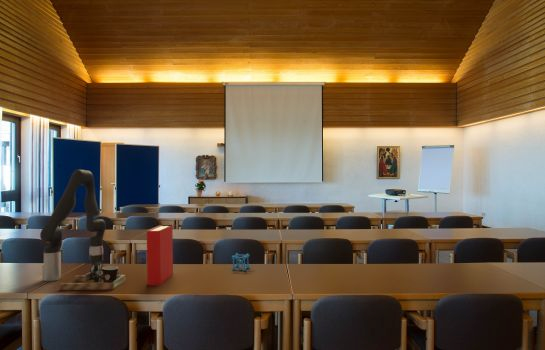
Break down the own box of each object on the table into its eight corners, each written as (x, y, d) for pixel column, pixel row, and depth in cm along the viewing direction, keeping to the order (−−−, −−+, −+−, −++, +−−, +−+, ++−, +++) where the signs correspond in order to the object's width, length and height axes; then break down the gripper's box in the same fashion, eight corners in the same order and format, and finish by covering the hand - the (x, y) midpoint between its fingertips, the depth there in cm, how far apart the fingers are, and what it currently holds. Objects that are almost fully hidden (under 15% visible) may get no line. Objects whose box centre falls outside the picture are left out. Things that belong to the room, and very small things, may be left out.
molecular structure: (231, 270, 274) (231, 255, 274) (236, 267, 284) (236, 253, 284) (245, 271, 272) (245, 256, 272) (250, 268, 282) (249, 253, 282)
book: (160, 273, 268) (160, 224, 268) (172, 273, 268) (172, 224, 267) (146, 285, 241) (145, 230, 240) (159, 285, 240) (159, 230, 240)
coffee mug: (120, 284, 243) (121, 267, 243) (108, 287, 236) (109, 270, 235) (107, 281, 249) (107, 264, 249) (94, 284, 241) (95, 267, 241)
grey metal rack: (60, 289, 233) (60, 283, 233) (82, 277, 260) (82, 272, 260) (113, 289, 233) (113, 283, 233) (129, 277, 260) (129, 271, 260)
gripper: (94, 251, 249) (95, 279, 249) (84, 255, 235) (85, 285, 236) (107, 251, 249) (107, 279, 249) (97, 255, 235) (98, 285, 236)
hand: (96, 282), depth 242 cm, fingers closed
